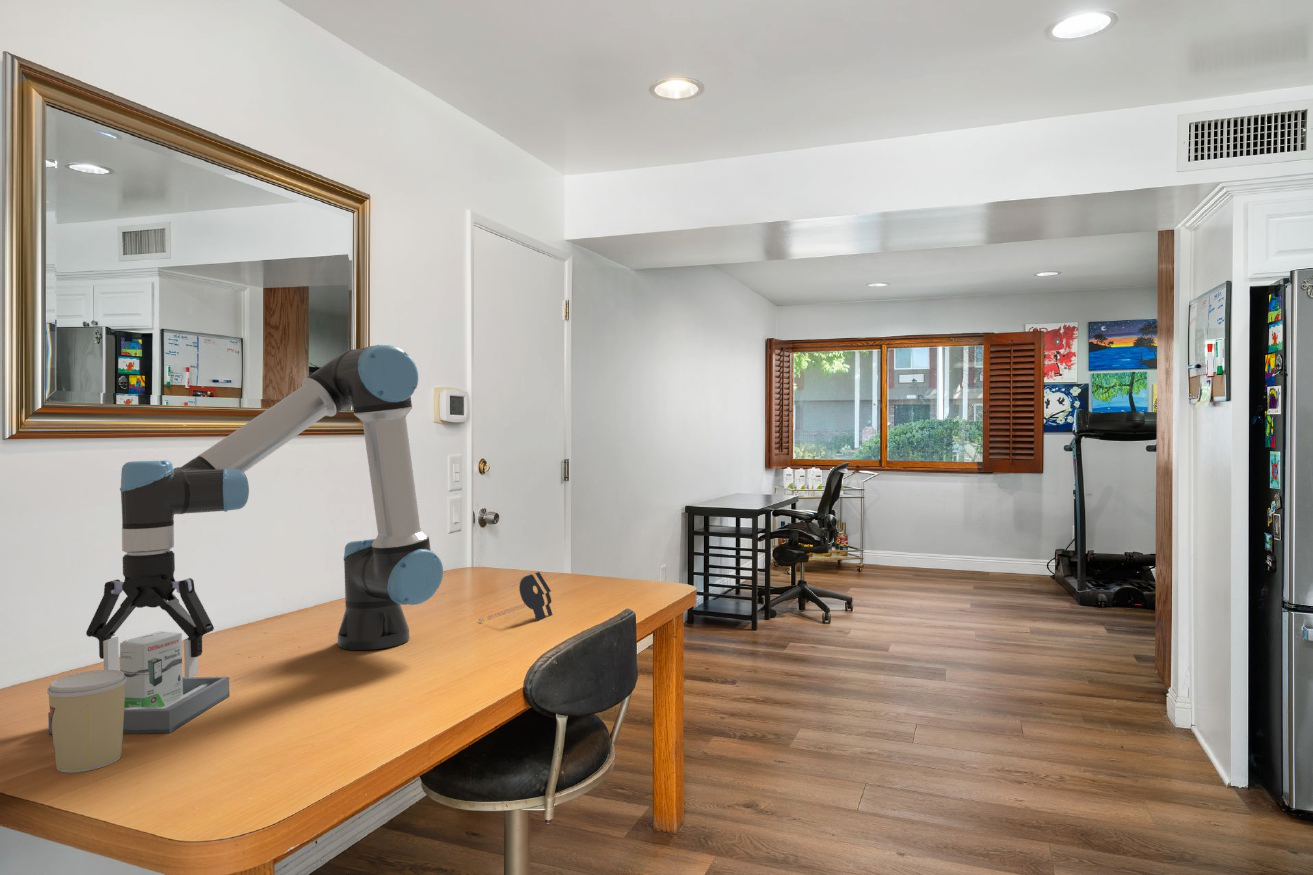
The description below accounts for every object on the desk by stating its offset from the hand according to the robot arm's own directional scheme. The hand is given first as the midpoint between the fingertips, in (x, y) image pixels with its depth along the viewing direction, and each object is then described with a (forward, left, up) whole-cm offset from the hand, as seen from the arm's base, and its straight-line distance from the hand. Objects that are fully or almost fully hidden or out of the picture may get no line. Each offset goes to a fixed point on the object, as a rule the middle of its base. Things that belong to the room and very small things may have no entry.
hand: (151, 676), depth 141 cm
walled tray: (0, +2, -6) cm, 6 cm away
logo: (-54, -64, -6) cm, 84 cm away
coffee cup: (-5, +22, -6) cm, 23 cm away
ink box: (0, 0, -5) cm, 5 cm away
